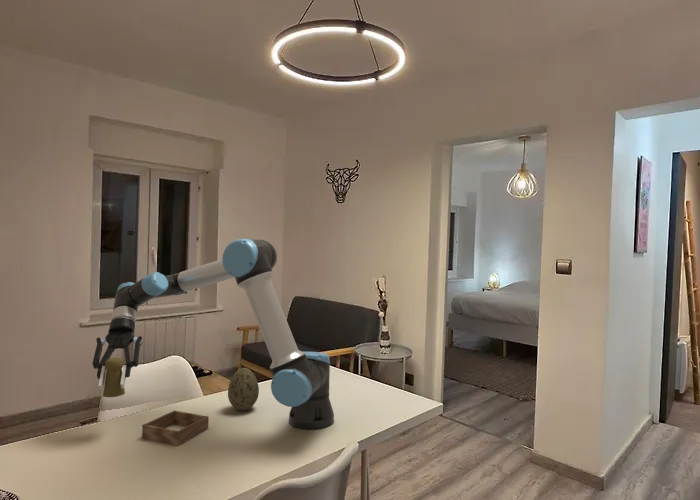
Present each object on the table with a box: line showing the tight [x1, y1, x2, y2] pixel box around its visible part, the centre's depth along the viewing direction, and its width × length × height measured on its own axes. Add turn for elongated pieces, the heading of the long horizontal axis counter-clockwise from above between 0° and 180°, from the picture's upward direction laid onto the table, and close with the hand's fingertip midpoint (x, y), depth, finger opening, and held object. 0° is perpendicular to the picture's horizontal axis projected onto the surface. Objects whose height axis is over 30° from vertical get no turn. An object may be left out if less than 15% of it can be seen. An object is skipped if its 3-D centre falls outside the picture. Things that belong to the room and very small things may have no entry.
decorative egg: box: [227, 367, 260, 411], centre depth 164 cm, size 11×11×15 cm
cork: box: [102, 357, 126, 398], centre depth 140 cm, size 6×6×11 cm
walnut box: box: [141, 409, 209, 447], centre depth 142 cm, size 14×14×4 cm
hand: (111, 386), depth 137 cm, fingers closed on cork, 5 cm apart
